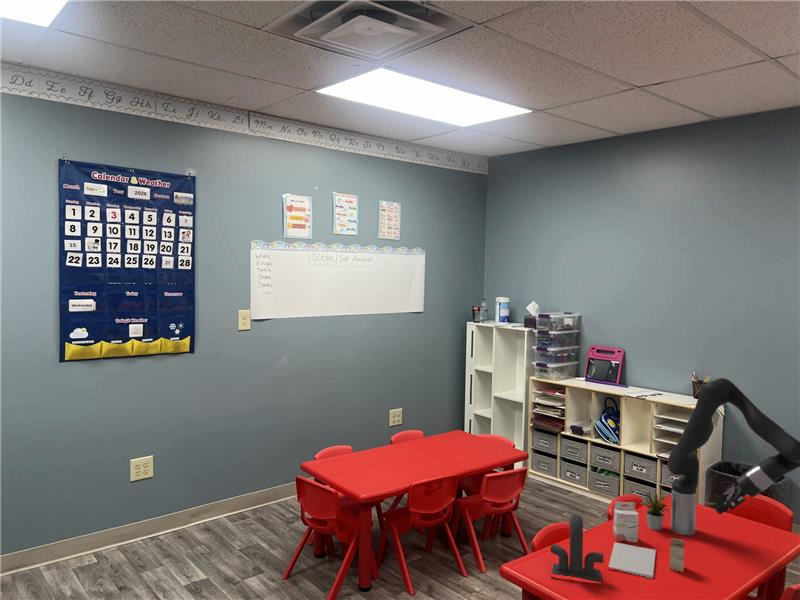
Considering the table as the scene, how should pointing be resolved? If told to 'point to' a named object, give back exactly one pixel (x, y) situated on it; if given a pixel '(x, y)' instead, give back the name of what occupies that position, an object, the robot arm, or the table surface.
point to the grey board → (633, 559)
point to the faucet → (577, 555)
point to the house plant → (655, 511)
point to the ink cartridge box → (625, 522)
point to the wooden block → (677, 554)
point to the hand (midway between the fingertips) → (716, 507)
